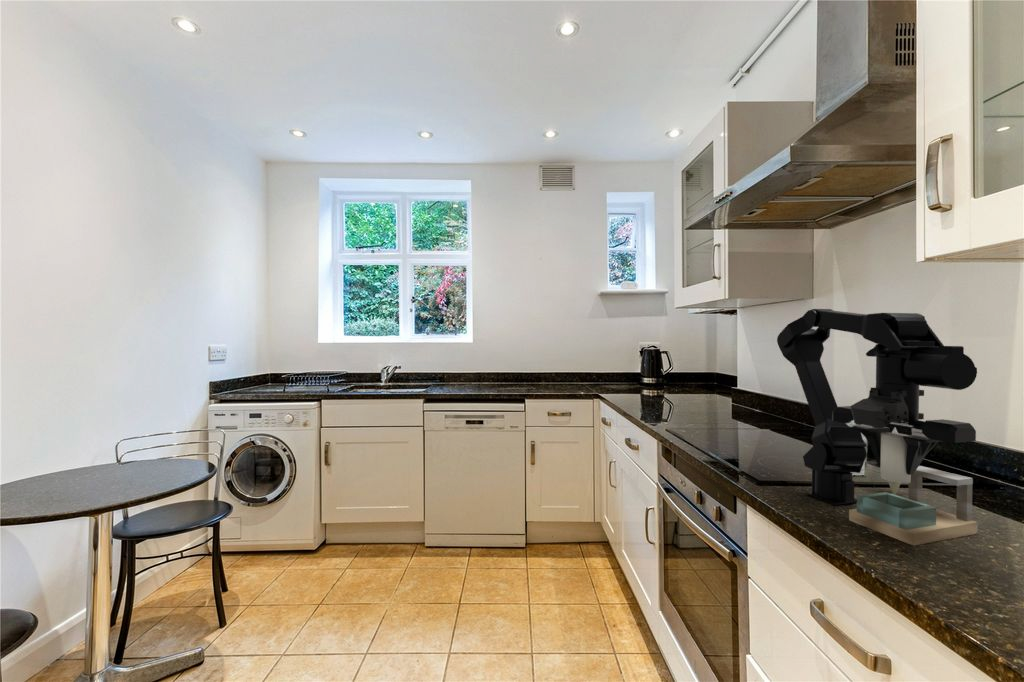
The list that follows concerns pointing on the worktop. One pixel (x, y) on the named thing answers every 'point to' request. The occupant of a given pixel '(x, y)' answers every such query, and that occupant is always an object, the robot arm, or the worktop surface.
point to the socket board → (917, 511)
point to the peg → (894, 458)
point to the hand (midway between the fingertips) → (895, 470)
